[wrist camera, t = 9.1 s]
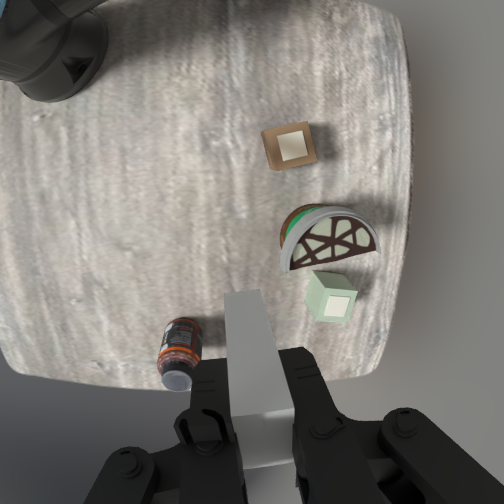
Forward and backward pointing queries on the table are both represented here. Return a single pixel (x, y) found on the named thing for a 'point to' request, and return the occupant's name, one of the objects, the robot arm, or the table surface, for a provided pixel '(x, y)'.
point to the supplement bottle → (179, 354)
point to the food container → (324, 236)
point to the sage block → (330, 297)
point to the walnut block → (289, 146)
